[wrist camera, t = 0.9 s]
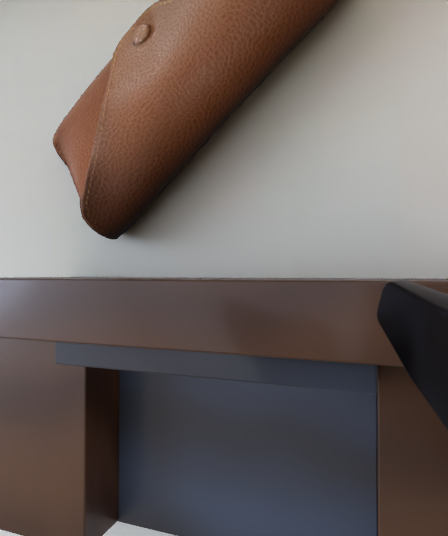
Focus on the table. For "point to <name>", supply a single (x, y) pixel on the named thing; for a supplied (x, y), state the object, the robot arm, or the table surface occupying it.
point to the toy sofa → (212, 410)
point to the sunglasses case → (171, 96)
